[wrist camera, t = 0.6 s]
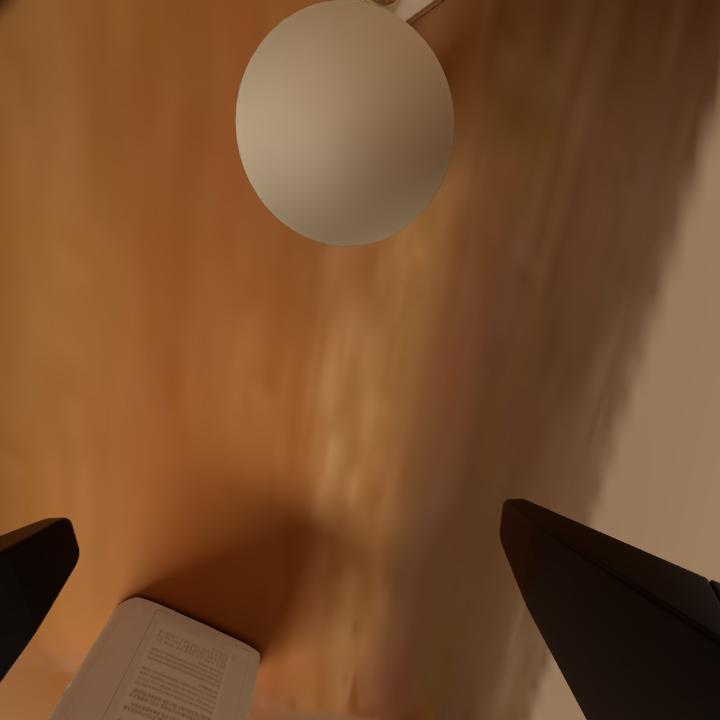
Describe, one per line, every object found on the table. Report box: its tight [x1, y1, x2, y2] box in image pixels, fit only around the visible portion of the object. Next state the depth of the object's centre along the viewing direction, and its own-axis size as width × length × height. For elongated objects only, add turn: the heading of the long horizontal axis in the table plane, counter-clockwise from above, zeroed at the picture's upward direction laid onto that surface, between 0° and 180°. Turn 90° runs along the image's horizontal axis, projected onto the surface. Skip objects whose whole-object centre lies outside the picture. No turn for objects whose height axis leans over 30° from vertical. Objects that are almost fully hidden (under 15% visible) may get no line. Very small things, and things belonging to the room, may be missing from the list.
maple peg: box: [236, 0, 455, 246], centre depth 14 cm, size 5×5×10 cm
